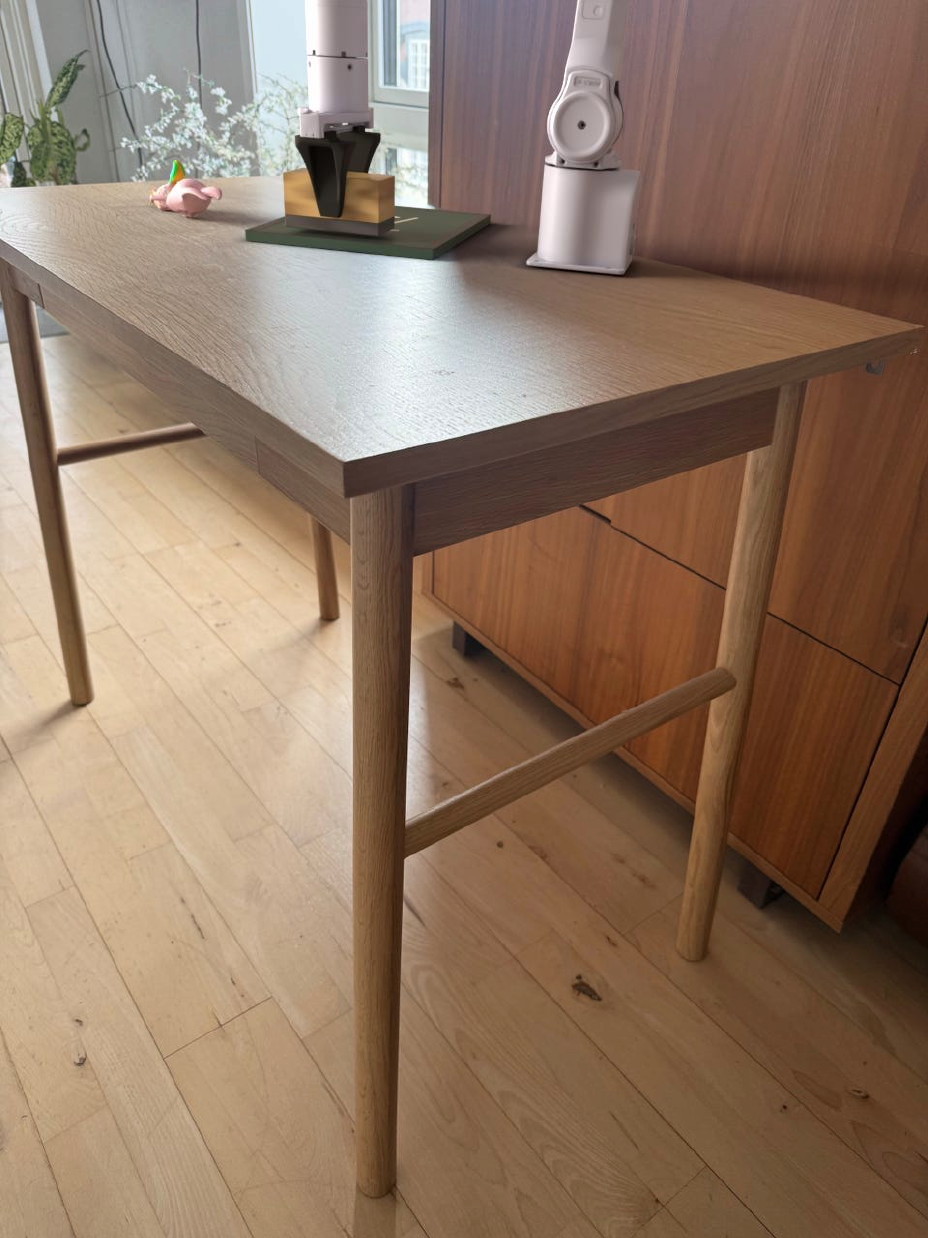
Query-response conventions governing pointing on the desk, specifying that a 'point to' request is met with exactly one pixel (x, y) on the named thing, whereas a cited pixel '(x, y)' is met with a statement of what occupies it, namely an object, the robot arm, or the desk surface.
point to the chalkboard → (410, 237)
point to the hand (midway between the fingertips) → (341, 212)
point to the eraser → (362, 210)
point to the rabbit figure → (184, 194)
